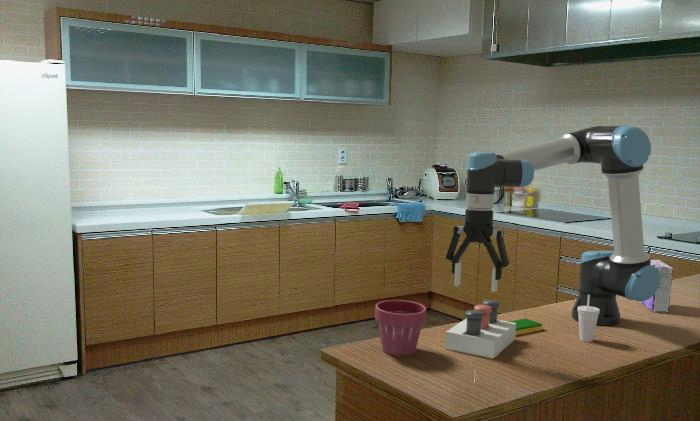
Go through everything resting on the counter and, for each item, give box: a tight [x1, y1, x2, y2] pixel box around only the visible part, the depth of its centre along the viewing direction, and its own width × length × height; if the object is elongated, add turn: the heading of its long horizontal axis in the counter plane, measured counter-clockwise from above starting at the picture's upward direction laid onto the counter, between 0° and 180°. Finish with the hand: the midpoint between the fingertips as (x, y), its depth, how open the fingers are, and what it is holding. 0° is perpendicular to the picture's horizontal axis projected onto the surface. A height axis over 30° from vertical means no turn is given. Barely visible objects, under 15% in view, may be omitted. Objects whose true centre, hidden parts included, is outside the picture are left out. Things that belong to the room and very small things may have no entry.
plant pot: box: [374, 299, 427, 357], centre depth 179 cm, size 14×14×13 cm
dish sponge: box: [508, 318, 543, 336], centre depth 202 cm, size 7×14×2 cm, turn 121°
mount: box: [444, 317, 516, 360], centre depth 187 cm, size 14×20×5 cm
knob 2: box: [481, 299, 501, 323], centre depth 192 cm, size 5×5×6 cm
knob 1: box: [464, 309, 484, 336], centre depth 180 cm, size 5×5×6 cm
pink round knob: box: [473, 304, 492, 329], centre depth 186 cm, size 5×5×6 cm
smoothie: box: [577, 294, 600, 343], centre depth 192 cm, size 6×6×14 cm
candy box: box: [640, 259, 674, 313], centre depth 231 cm, size 14×6×16 cm, turn 172°
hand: (475, 288), depth 179 cm, fingers open, 10 cm apart
